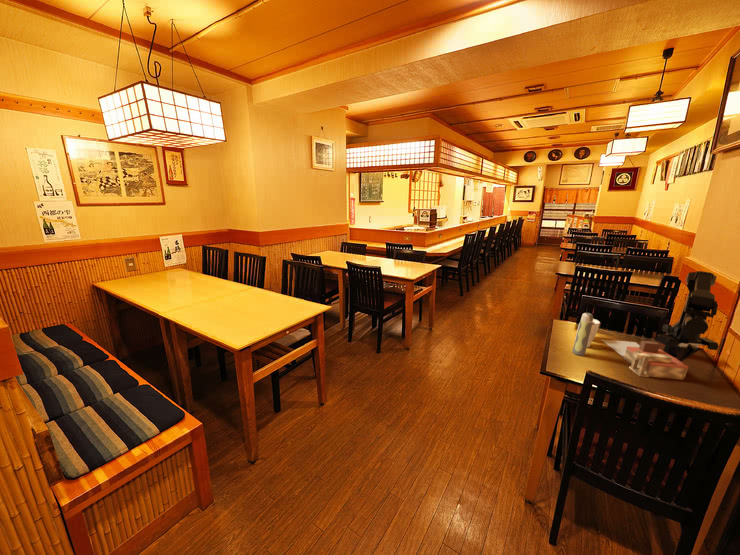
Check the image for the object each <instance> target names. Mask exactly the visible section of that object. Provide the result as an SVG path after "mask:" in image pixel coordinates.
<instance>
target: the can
mask: <svg viewBox="0 0 740 555" xmlns="http://www.w3.org/2000/svg"><path fill="white" fill-rule="evenodd" d="M579 325H580V322H579V323H578V326H577V331H576V335H575V339H576V336H577V332H578V328H579ZM594 330H595V323H594V322H593V323H592V327H591V331H590V335H589V339H588V343H587V348H590V347H591V344H592V342H593V341H592V338H593V334H594ZM575 339H574V340H575Z"/></svg>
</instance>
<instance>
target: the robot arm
mask: <svg viewBox="0 0 740 555" xmlns="http://www.w3.org/2000/svg"><path fill="white" fill-rule="evenodd" d="M716 280H717V276H716V275H715V274H714V273H712V272H710V271H704V270H703V271H702V270H699V271H693V272H692V271H691V272H688V273H687V275H686V278H685V282H686V284H685V285H686V288H687V290H688V293H687V296H686V299H685V302H684V305H683V307H682V311H681V314H680V316H679V320H678V321H677V322H675V323H673V324H666V323H664V324H663V325H662V327H661V328H662V329H661V330H662V332H665V334H662V333H659V334H657V336H656V338H655V340H656V342H658V343H659V342H660V343H661V344H662V345H664V348H660V349H661V350H663V351H664V352H666V353H668V354H669V355H671V356H672V357H674V358H677V360H679V361H681V362H683V361H684V360H686V359H687V358H689V357H690V356H692V355H694V354H695V353H697V352H699V351H702V349H701V348H699V346H705V347H706V346H707V347H706V348H707V349H708V350H710V351H711V350H712V351H718V349H719V347H720V345H719V343H718V342H716V341H714V340H713V339H710V338H708V337H701V335H705V333H706V332H707V331H708V330H709V325H708V321H707V318H712V319H714V316H716V315H717V312H718V307H719V304H718V301H717V300H716V295H715V294H713V292H711V288H712V286H715V284H716Z"/></svg>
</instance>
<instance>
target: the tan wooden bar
mask: <svg viewBox="0 0 740 555" xmlns="http://www.w3.org/2000/svg"><path fill="white" fill-rule="evenodd" d="M643 355H645V356H648V357H649V360H648V361H654V362H666V363H670V362H671V359H672V358H671V357H669V356H668V355H661V354H649V353H637V352H633V355H632V357H633V358H634V359H635V360H642V358H643Z"/></svg>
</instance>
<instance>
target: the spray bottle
mask: <svg viewBox="0 0 740 555" xmlns="http://www.w3.org/2000/svg"><path fill="white" fill-rule="evenodd" d="M593 319H594V316H593V314H592V313H590V312H584V313H582V315H581V318H580V321H579V323H580V325H579V324H578V326H579V328H578V327H577V330H578V332H577V331H576V334H577V336H576V335H575V338H576V339H574V343H573V347H572V353H573V354H575V355H576V356H579V357H582V356H585V355H586V351H587V348H588V347H587V343H588V339H589V335H590V331H591V327H592V323H593V322H592V321H593Z"/></svg>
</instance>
